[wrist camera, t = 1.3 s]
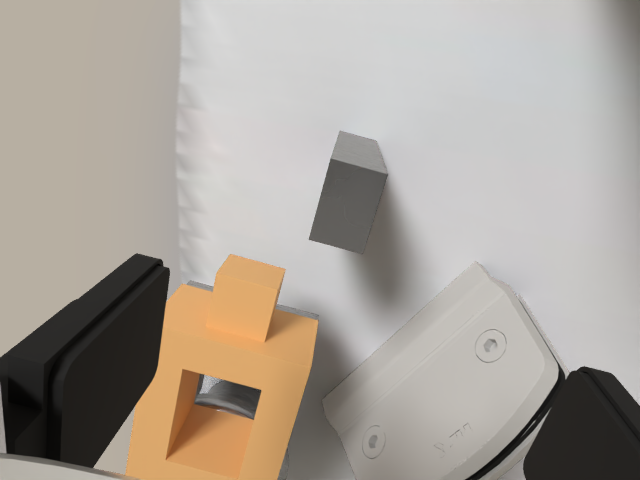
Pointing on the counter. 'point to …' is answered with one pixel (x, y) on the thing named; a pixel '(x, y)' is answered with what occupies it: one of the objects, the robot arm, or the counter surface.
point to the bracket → (228, 364)
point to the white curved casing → (450, 389)
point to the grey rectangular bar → (350, 193)
